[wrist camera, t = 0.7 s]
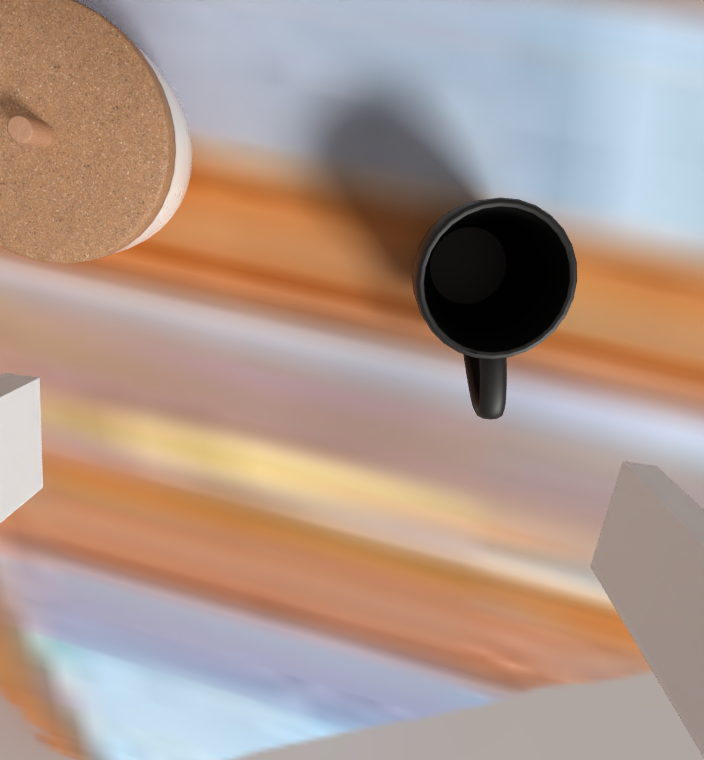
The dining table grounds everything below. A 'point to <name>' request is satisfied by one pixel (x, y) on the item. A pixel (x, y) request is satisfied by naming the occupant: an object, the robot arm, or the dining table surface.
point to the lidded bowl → (83, 135)
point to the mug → (494, 287)
